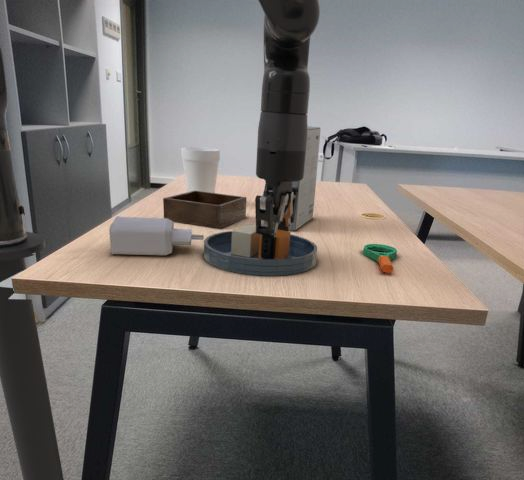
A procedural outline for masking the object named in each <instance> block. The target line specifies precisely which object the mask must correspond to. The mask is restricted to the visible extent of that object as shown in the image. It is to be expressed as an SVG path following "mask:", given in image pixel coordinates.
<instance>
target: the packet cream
mask: <svg viewBox="0 0 524 480" xmlns="http://www.w3.org/2000/svg"><path fill="white" fill-rule="evenodd" d="M231 231H232V245H231V254H232V255H238V256H244V257H251V256H253V255H255V254H256V253H258V252H259V240H260V234H257V233H256V225H248V224H243V225H242V226H239V227H237V228H235V229H233V230H231Z"/></svg>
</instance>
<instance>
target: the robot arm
mask: <svg viewBox="0 0 524 480" xmlns="http://www.w3.org/2000/svg"><path fill="white" fill-rule="evenodd" d="M257 1H258V3H259V5H260V7H261V9H262V11H263V14H264V17H263V75H262V76H263V77H262V84H261V99H260V115H259V121H258V127H257V143H256V163H255V164H256V166H255V175H256V177H257V178H258V179H261V180H264V181H266V184H264V189H263V192H262V195H256V196H255V199H254V208H255V209H254V210H255V226H256V233H257V234H260V235H262V245H261V257H262V258H263V259H274V257H275V246H276V235H277V230H284V231H290V230H289V229H290V227H291V223H293V222H294V218H295V211H296V204H297V197H298V191H299V190H298V187H292V182H295V181H300V180H302V179H303V177H304V166H305V155H306V144H307V133H308V126H309V125H308V114H309V103H310V91H311V78H310V74H309V70H308V69H309V68H308V66H309V57H310V56H309V55H310V45H311V38H312V35H313V34H314V33H315V31H316V29H317V27H318V24H319V21H320V13H321V9H320V2H319V0H257ZM1 45H2V44H1V43H0V248H4V247H10V246H15V245H19V244H22V243H24V242H26V241H27V235H26V232H27V231H26V228H25V222H24V217H23V216H26V213H25V207H24V206H23V205H22V204H21V199H20V192H19V187H18V181H17V175H16V170H15V169H16V168H15V164H14V158H13V153H12V148H11V142H10V136H9V130H8V123H7V112H8V107H9V96H8V86H7V77H6V71H5V63H4V57H3V49H2V46H1ZM273 222H274V223H273ZM267 223H268V227H266V226H267Z"/></svg>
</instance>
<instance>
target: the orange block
mask: <svg viewBox="0 0 524 480" xmlns="http://www.w3.org/2000/svg"><path fill="white" fill-rule="evenodd" d="M291 233H292V232H291V230H288V231H284V230H277V235H276V246H275V257H274V259H283V258H284V257H286V256H287V255H289V245H290V234H291ZM261 245H262V235H260V240H259V258H258V259H263V258H262V257H261Z"/></svg>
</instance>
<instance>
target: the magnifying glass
mask: <svg viewBox="0 0 524 480" xmlns="http://www.w3.org/2000/svg"><path fill="white" fill-rule="evenodd" d="M362 254H363V255H364V256H366V257H368V258H370V259H372V260H374V261H376V262H378V265H379V267H380V269H381V271H382V272H383V273H392V272H393V270H394V266H393V264H392V262H391V261H392V260H394V259H395V258H397V254H398V250H397V248H396V247H393V246H391V245H387V244H379V243H368V244H365V245H364V246H363V252H362Z"/></svg>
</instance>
